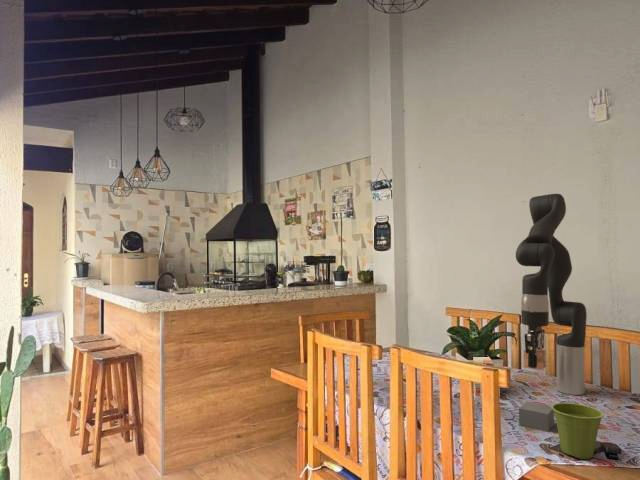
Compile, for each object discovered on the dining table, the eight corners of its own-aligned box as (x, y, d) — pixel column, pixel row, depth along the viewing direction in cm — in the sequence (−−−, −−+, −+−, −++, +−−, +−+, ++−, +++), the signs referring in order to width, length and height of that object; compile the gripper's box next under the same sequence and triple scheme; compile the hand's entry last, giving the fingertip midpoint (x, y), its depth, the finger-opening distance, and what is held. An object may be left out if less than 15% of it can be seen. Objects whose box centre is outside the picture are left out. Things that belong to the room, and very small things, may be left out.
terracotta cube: (528, 364, 143) (528, 347, 143) (545, 366, 140) (545, 350, 140) (523, 367, 139) (523, 350, 140) (541, 370, 136) (541, 352, 136)
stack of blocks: (467, 379, 187) (467, 349, 187) (483, 380, 186) (483, 349, 186) (475, 396, 166) (475, 361, 166) (493, 397, 165) (494, 362, 165)
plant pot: (615, 460, 116) (614, 414, 116) (579, 467, 112) (579, 420, 112) (574, 441, 127) (574, 400, 127) (540, 447, 123) (540, 404, 123)
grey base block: (525, 417, 145) (525, 401, 145) (554, 423, 140) (554, 406, 140) (519, 425, 138) (519, 408, 139) (548, 431, 134) (548, 414, 134)
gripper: (528, 306, 148) (528, 359, 148) (515, 310, 137) (514, 368, 137) (553, 308, 144) (553, 363, 143) (542, 312, 132) (542, 372, 132)
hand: (534, 365), depth 140 cm, fingers closed on terracotta cube, 5 cm apart
